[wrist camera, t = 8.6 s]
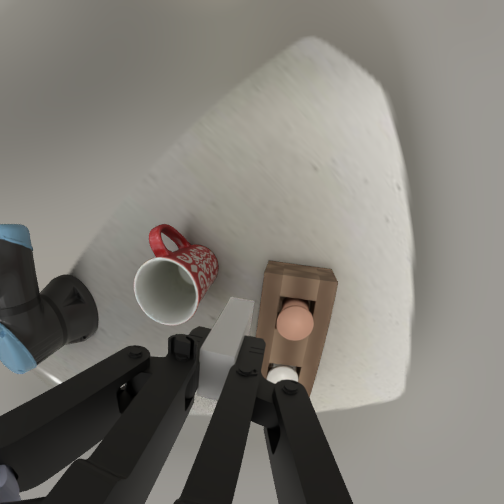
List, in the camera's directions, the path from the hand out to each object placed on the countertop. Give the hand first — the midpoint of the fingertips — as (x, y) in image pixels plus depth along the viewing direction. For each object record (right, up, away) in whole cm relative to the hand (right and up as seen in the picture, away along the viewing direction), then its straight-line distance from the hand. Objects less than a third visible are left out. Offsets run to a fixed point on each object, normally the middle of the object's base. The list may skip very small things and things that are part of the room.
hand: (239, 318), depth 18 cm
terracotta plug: (+7, -4, +24) cm, 26 cm away
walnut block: (+7, -8, +29) cm, 31 cm away
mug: (-9, +4, +29) cm, 30 cm away
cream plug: (+6, -14, +29) cm, 33 cm away
